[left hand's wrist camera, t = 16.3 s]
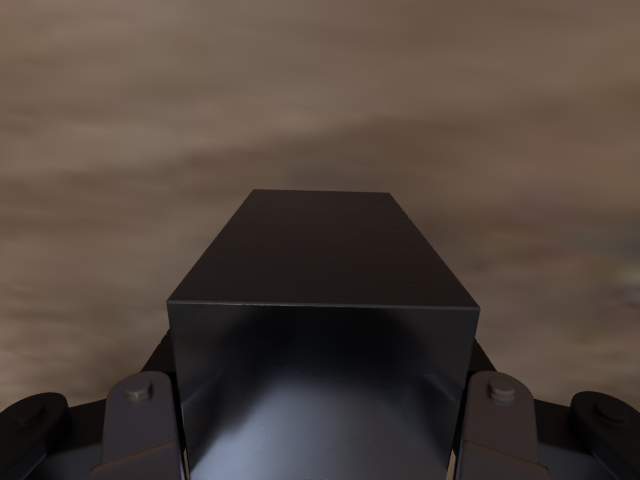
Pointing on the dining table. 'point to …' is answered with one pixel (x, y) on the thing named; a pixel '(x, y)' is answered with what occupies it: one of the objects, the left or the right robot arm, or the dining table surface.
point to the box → (320, 343)
